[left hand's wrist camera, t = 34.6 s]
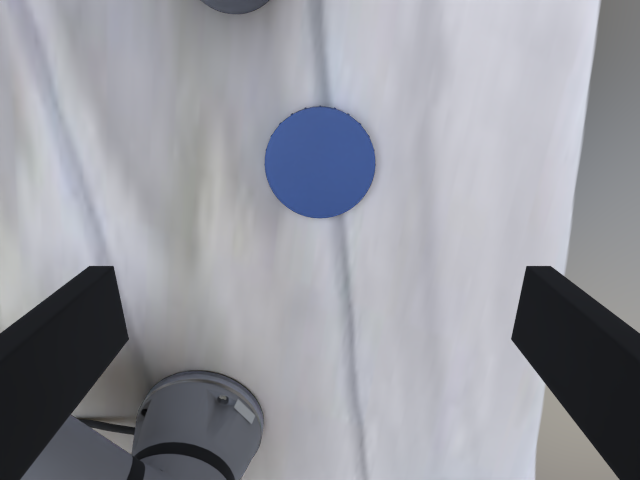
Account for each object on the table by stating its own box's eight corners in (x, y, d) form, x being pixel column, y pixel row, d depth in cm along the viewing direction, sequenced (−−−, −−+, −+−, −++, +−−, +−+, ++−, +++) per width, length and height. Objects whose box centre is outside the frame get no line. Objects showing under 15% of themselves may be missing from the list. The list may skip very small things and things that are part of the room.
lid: (363, 218, 40) (365, 224, 38) (262, 206, 39) (260, 211, 38) (382, 114, 36) (385, 115, 34) (271, 98, 36) (269, 99, 34)
